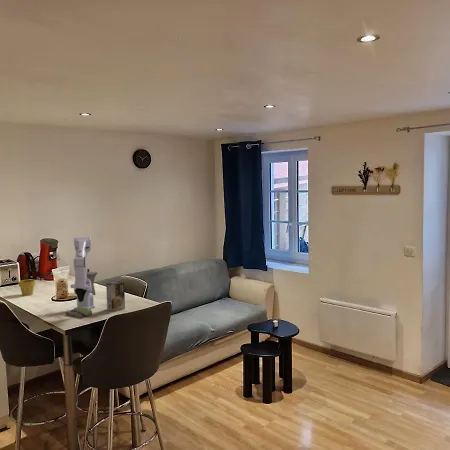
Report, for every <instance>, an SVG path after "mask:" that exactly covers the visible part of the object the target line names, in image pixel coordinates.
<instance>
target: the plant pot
mask: <svg viewBox="0 0 450 450" xmlns="http://www.w3.org/2000/svg"><path fill="white" fill-rule="evenodd" d="M35 286H36V279H22V280H19V281H18V287H19V288H20V292H21V295H22V297H23V296H24V297H28V296H32V295H33V294H34V290H35Z"/></svg>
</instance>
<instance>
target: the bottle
mask: <svg viewBox="0 0 450 450" xmlns="http://www.w3.org/2000/svg"><path fill="white" fill-rule="evenodd" d="M74 308H75V311H77V313H79V314H82V315H87V316H86V317H89V316H91V315H90V314H91V311H92V308H88V307H82V306H79V307H78V308H77V306H76V307H74ZM88 315H89V316H88Z"/></svg>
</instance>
